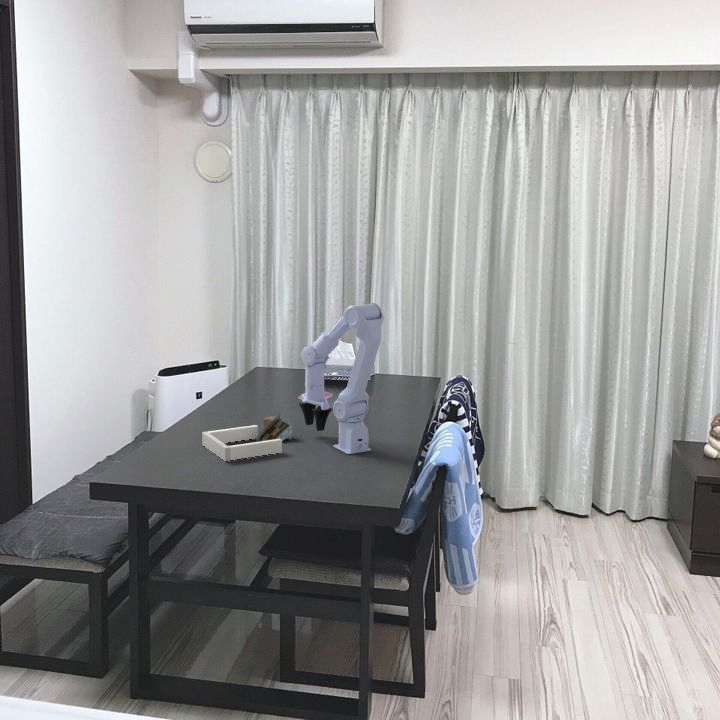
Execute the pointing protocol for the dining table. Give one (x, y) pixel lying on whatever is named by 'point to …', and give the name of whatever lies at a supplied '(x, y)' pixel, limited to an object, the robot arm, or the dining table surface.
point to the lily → (326, 395)
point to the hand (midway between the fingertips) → (314, 427)
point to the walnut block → (268, 420)
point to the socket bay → (227, 453)
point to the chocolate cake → (275, 431)
